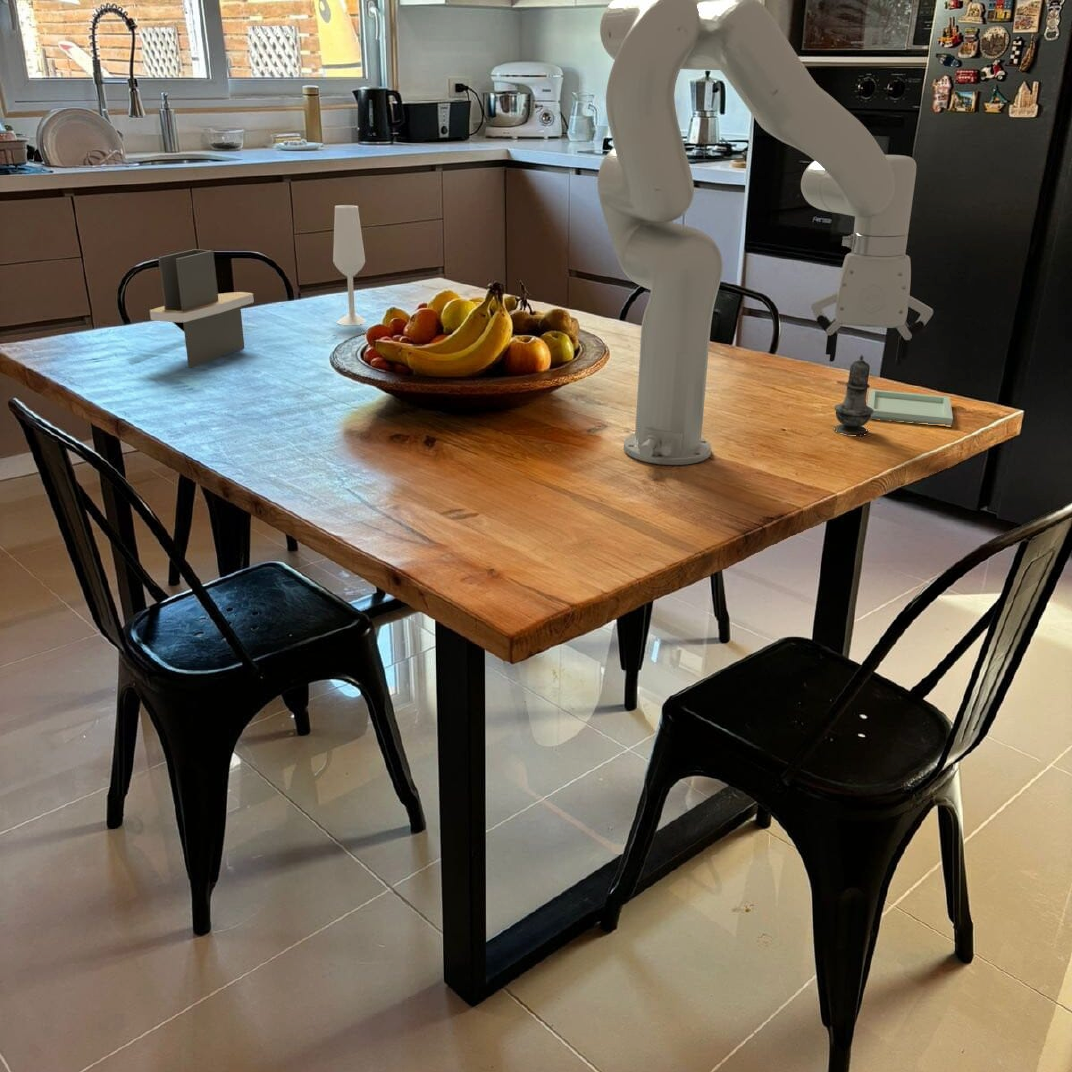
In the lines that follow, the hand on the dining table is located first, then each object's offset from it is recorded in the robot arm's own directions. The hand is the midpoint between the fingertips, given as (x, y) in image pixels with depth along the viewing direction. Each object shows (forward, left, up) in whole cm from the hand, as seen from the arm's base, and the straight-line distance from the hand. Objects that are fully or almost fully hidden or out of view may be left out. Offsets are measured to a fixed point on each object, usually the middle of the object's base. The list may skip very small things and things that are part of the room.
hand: (864, 361), depth 159 cm
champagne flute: (+40, +107, -11) cm, 114 cm away
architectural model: (+3, +118, -12) cm, 118 cm away
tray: (+14, -8, -11) cm, 19 cm away
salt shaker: (0, +1, -11) cm, 11 cm away
